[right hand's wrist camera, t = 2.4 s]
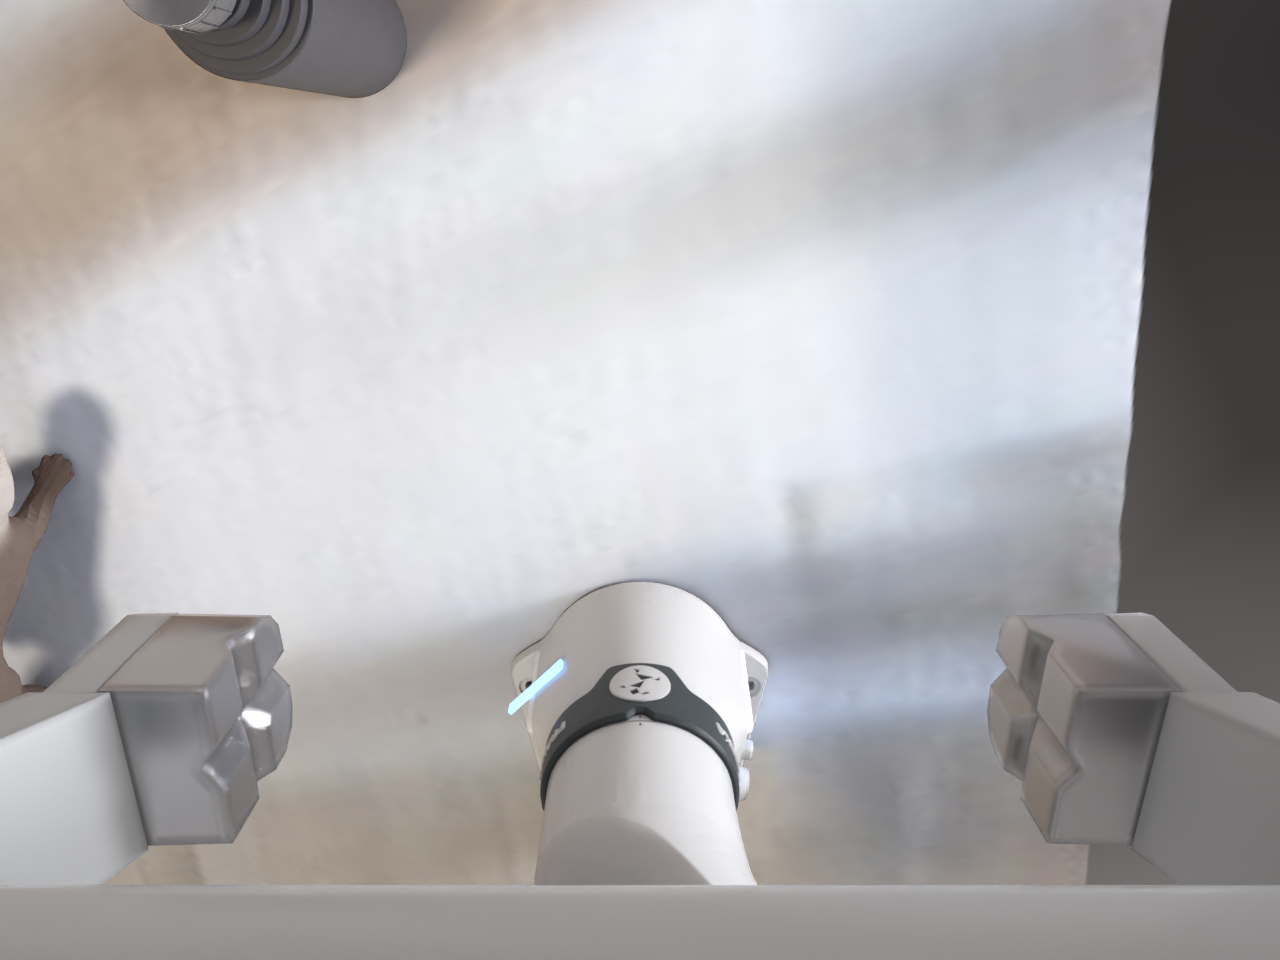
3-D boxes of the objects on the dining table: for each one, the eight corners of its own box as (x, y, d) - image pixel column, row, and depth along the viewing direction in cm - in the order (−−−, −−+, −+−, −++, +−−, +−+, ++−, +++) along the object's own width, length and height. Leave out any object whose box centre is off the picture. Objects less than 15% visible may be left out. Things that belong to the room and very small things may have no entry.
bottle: (425, 10, 50) (290, -73, 31) (378, 120, 53) (223, 107, 33) (316, -56, 49) (104, -186, 30) (272, 58, 51) (47, 7, 32)
